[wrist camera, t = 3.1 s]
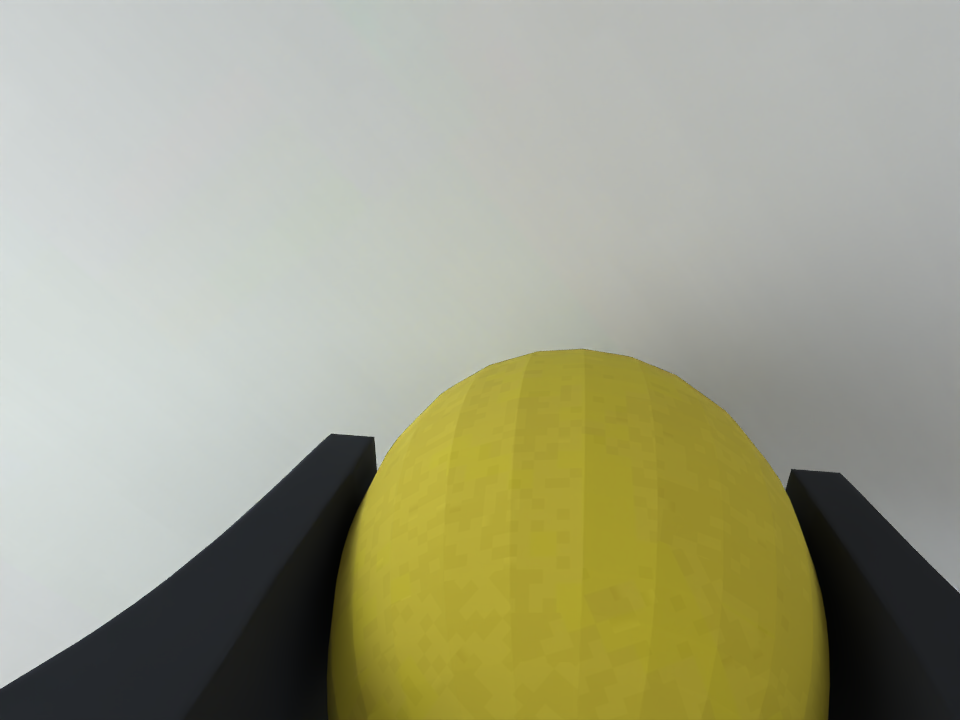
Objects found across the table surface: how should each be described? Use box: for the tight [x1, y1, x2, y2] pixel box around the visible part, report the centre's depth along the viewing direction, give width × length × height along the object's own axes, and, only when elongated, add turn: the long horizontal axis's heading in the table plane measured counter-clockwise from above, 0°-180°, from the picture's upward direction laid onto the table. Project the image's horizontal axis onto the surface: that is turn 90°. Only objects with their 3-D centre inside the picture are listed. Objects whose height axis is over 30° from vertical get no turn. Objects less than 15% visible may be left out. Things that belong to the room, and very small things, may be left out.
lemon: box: [327, 349, 830, 720], centre depth 9 cm, size 6×6×8 cm
